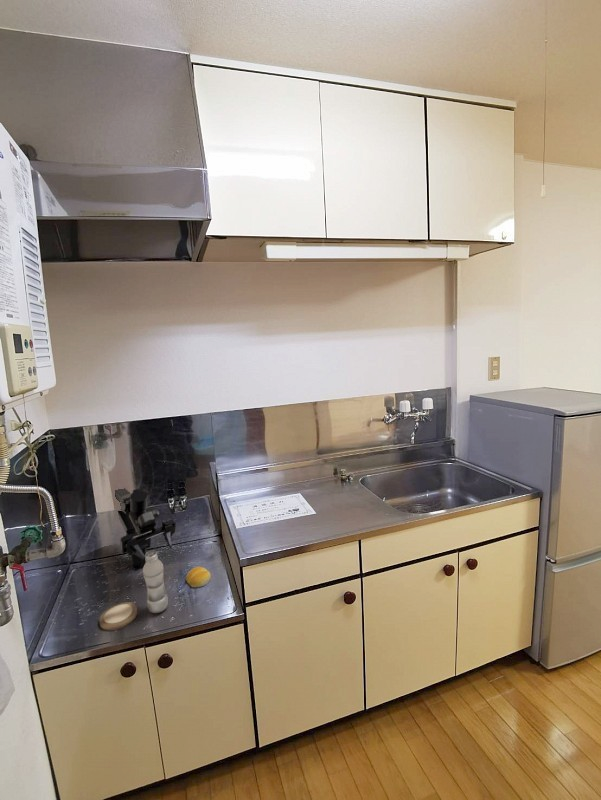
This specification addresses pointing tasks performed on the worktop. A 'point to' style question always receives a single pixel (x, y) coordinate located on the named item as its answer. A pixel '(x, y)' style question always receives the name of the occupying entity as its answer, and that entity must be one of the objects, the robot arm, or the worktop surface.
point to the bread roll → (198, 577)
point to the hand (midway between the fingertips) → (158, 552)
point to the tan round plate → (118, 616)
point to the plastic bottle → (154, 583)
